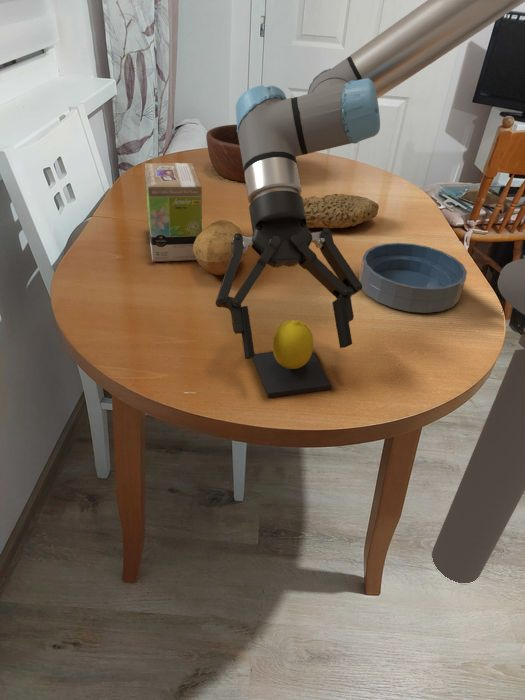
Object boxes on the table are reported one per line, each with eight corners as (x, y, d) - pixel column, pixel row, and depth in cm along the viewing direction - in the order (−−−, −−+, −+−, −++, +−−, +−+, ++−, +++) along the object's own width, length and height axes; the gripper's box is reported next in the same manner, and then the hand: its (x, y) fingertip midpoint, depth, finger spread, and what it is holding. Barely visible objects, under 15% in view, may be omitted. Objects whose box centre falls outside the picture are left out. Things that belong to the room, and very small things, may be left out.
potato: (184, 283, 93) (182, 242, 88) (203, 251, 104) (203, 213, 100) (237, 290, 92) (238, 248, 87) (251, 256, 103) (252, 218, 99)
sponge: (292, 239, 114) (384, 227, 111) (287, 203, 111) (382, 190, 108) (294, 226, 126) (378, 216, 123) (291, 194, 123) (376, 182, 120)
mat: (310, 351, 78) (310, 347, 78) (331, 389, 71) (331, 384, 71) (252, 358, 76) (252, 353, 76) (268, 397, 69) (268, 393, 69)
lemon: (299, 353, 76) (304, 307, 71) (316, 376, 72) (323, 328, 67) (265, 361, 74) (268, 313, 70) (280, 384, 70) (285, 335, 65)
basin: (427, 263, 105) (433, 240, 102) (479, 309, 91) (487, 284, 88) (344, 269, 101) (347, 246, 98) (384, 319, 87) (390, 293, 84)
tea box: (204, 260, 101) (202, 185, 92) (151, 263, 99) (145, 186, 90) (195, 230, 113) (193, 160, 104) (148, 231, 111) (142, 161, 102)
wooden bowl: (262, 155, 162) (263, 120, 156) (312, 178, 146) (315, 140, 140) (191, 165, 150) (190, 128, 144) (236, 192, 134) (237, 151, 128)
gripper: (348, 207, 78) (373, 346, 75) (183, 216, 72) (203, 366, 69) (369, 184, 71) (397, 336, 68) (187, 191, 65) (209, 358, 62)
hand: (299, 351), depth 68 cm, fingers open, 13 cm apart
